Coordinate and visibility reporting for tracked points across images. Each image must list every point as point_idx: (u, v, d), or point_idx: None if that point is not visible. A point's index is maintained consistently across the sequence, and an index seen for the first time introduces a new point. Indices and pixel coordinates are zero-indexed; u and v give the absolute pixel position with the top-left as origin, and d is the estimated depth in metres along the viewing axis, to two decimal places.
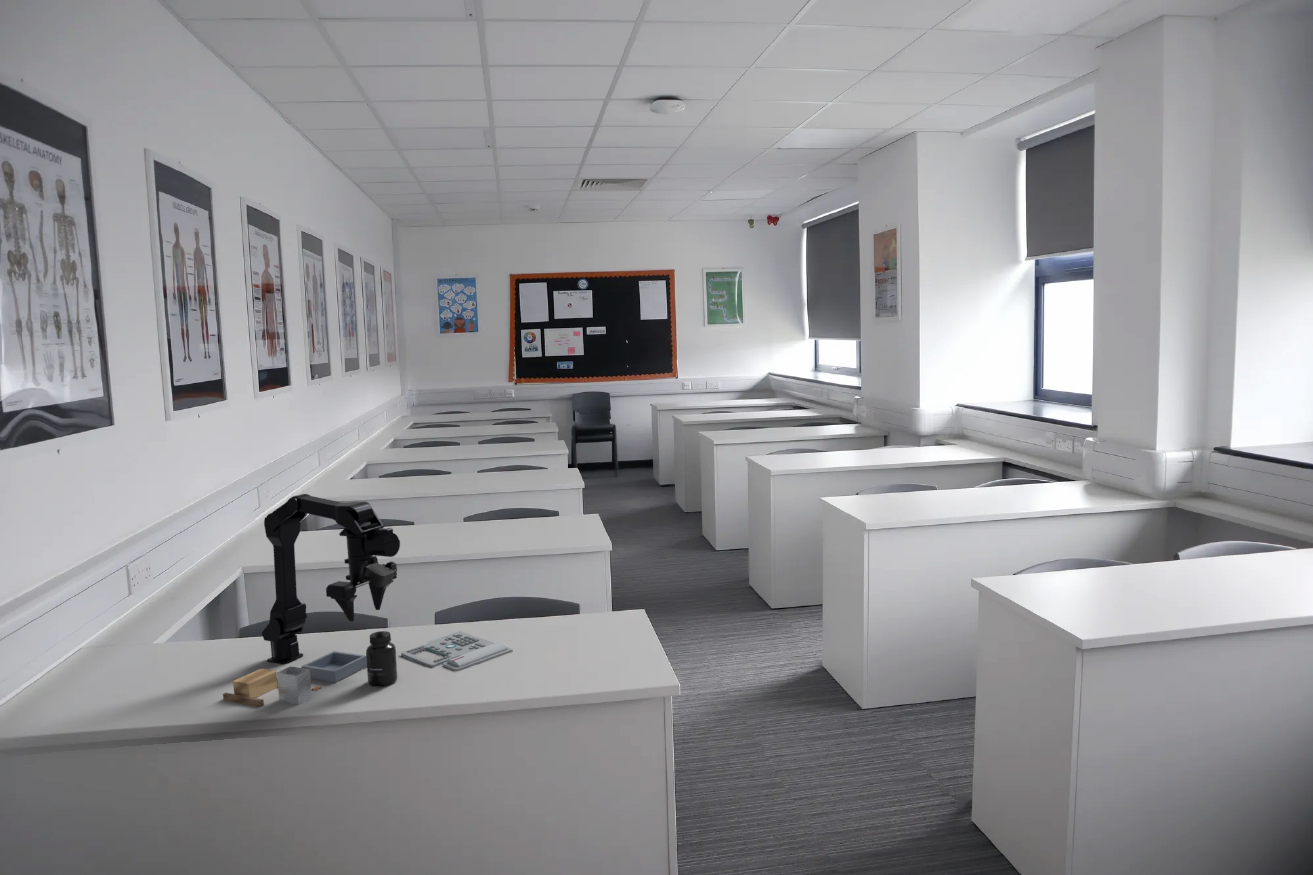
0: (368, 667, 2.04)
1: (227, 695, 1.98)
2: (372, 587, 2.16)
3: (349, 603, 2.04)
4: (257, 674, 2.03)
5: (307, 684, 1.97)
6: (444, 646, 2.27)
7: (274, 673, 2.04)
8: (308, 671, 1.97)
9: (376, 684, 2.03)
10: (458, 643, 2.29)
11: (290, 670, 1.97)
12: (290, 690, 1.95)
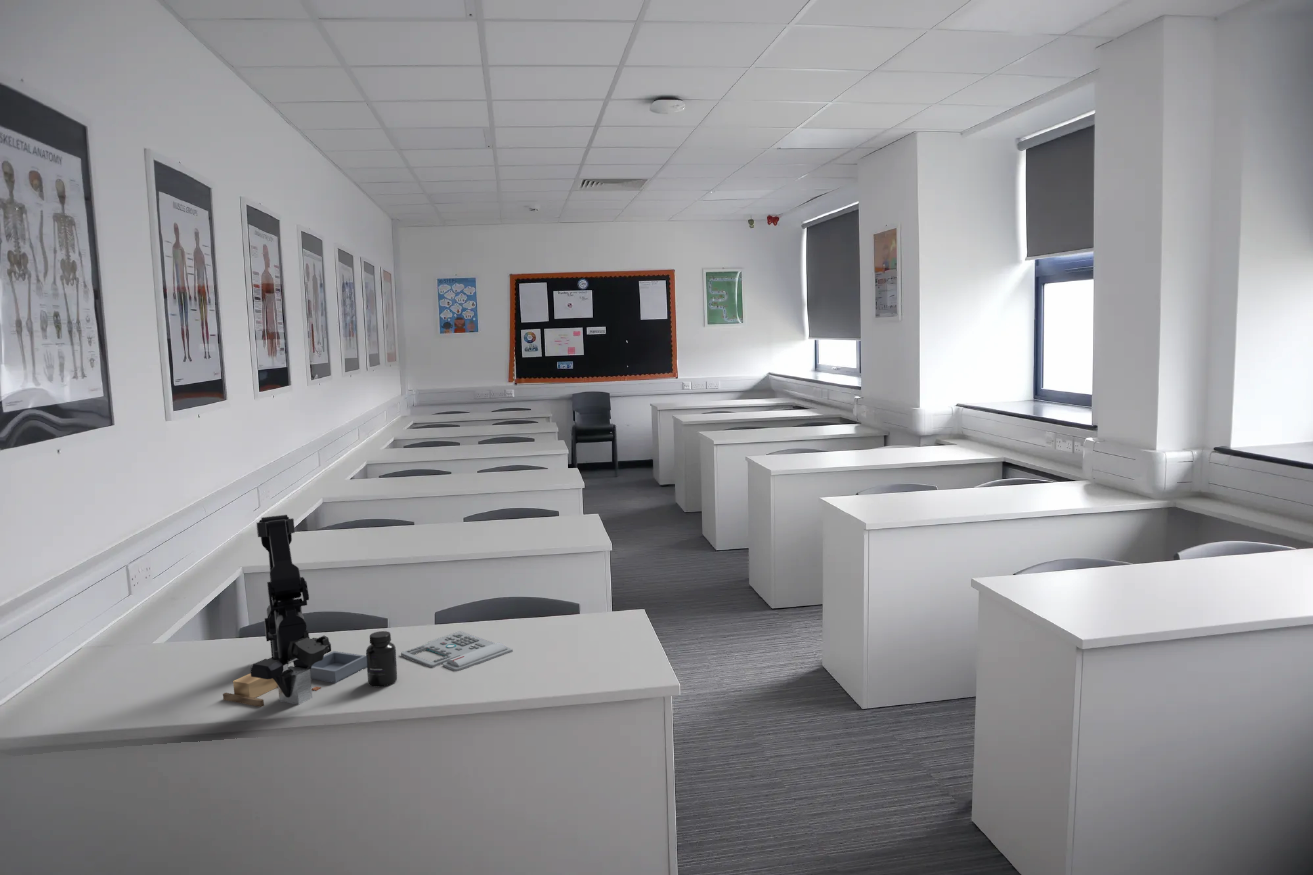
0: (368, 667, 2.04)
1: (227, 695, 1.98)
2: (297, 665, 2.00)
3: (284, 679, 1.93)
4: None
5: (307, 684, 1.97)
6: (444, 646, 2.27)
7: None
8: (308, 671, 1.97)
9: (376, 684, 2.03)
10: (458, 643, 2.29)
11: (290, 669, 1.97)
12: None
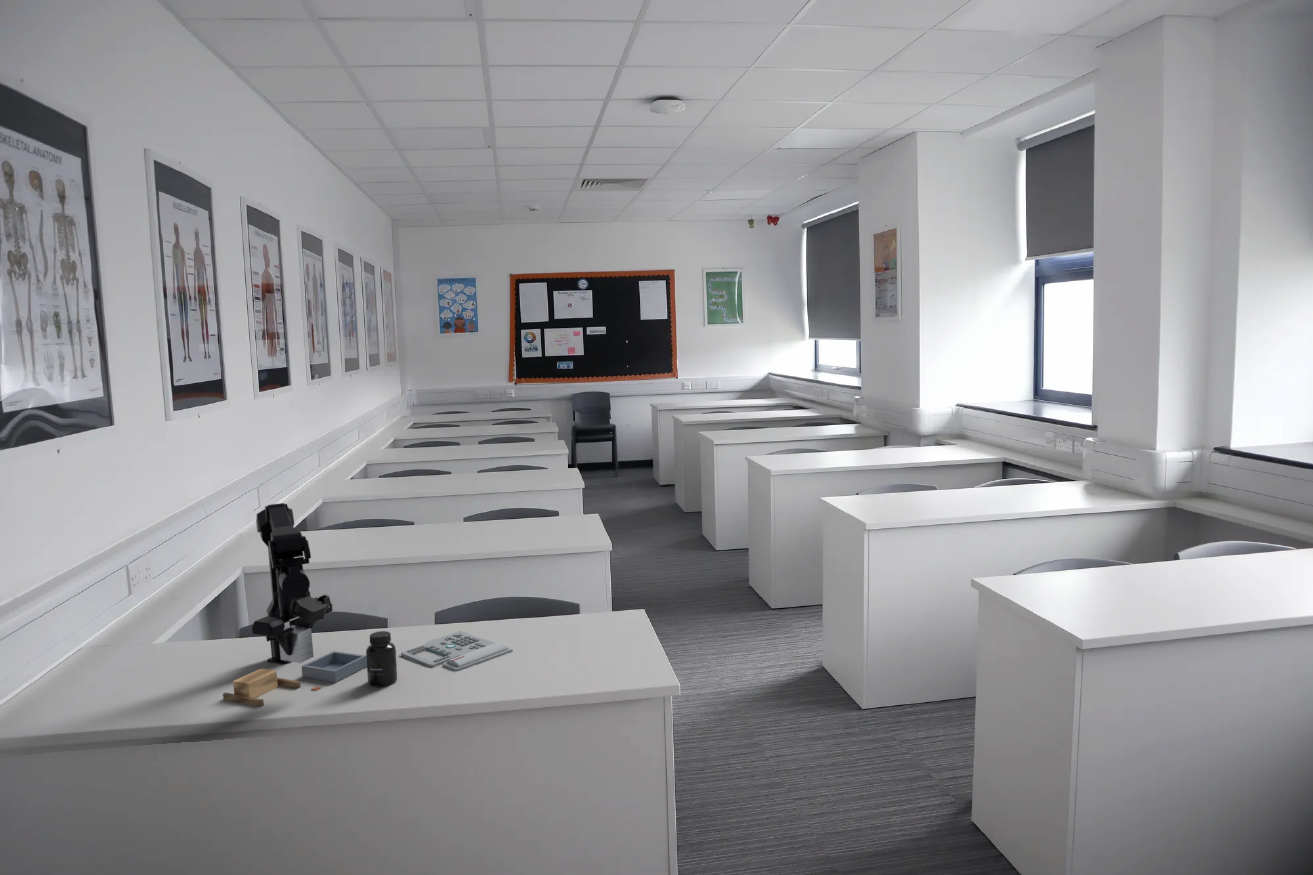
0: (368, 667, 2.04)
1: (227, 695, 1.98)
2: (298, 624, 2.01)
3: (286, 637, 1.94)
4: (257, 674, 2.03)
5: (308, 642, 1.98)
6: (444, 646, 2.27)
7: (274, 673, 2.04)
8: (309, 629, 1.98)
9: (376, 684, 2.03)
10: (458, 643, 2.29)
11: None
12: None
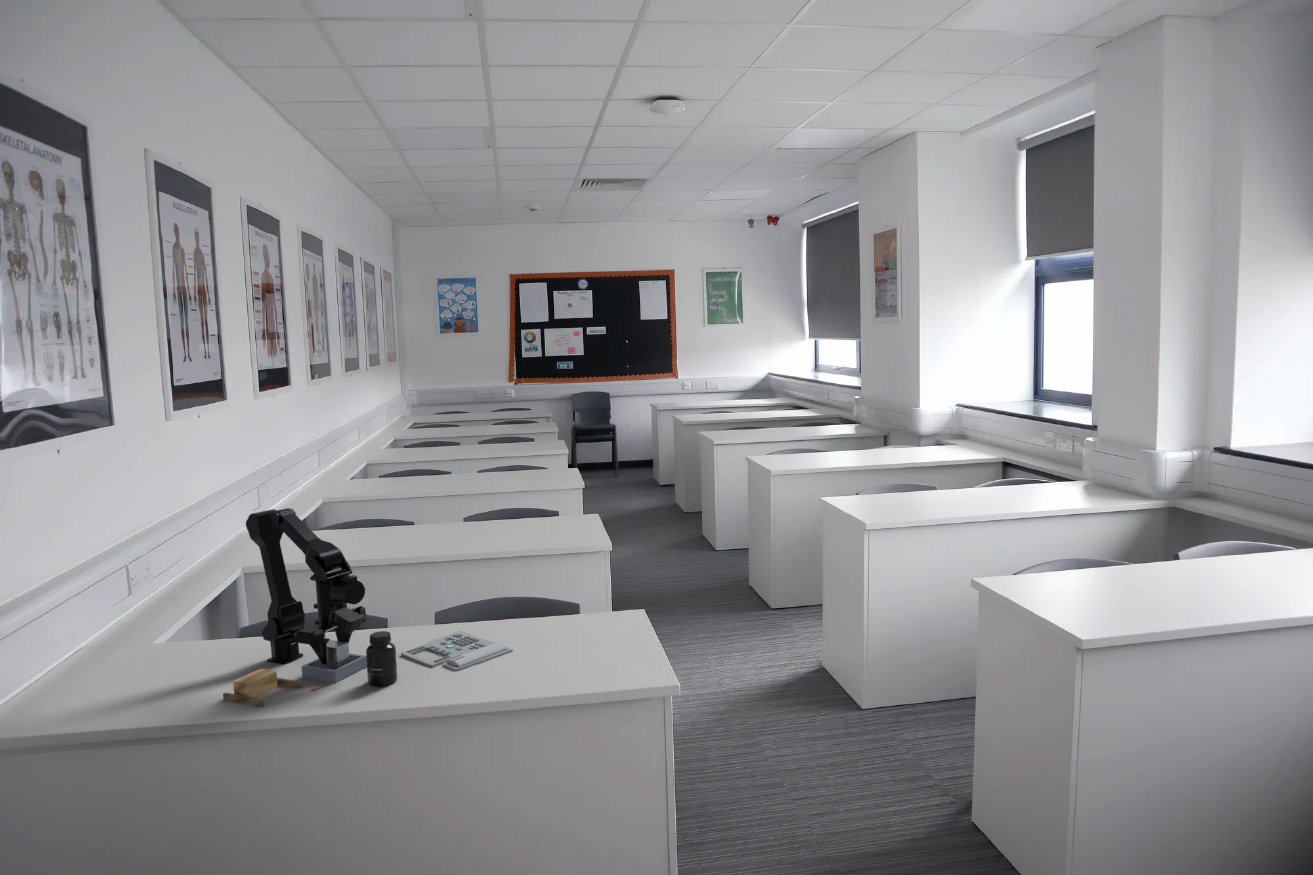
0: (368, 667, 2.04)
1: (227, 695, 1.98)
2: (338, 632, 2.17)
3: (322, 646, 2.08)
4: (257, 674, 2.03)
5: (345, 656, 2.13)
6: (444, 646, 2.27)
7: (274, 673, 2.04)
8: (347, 644, 2.13)
9: (376, 684, 2.03)
10: (458, 643, 2.29)
11: (330, 643, 2.13)
12: (330, 661, 2.11)
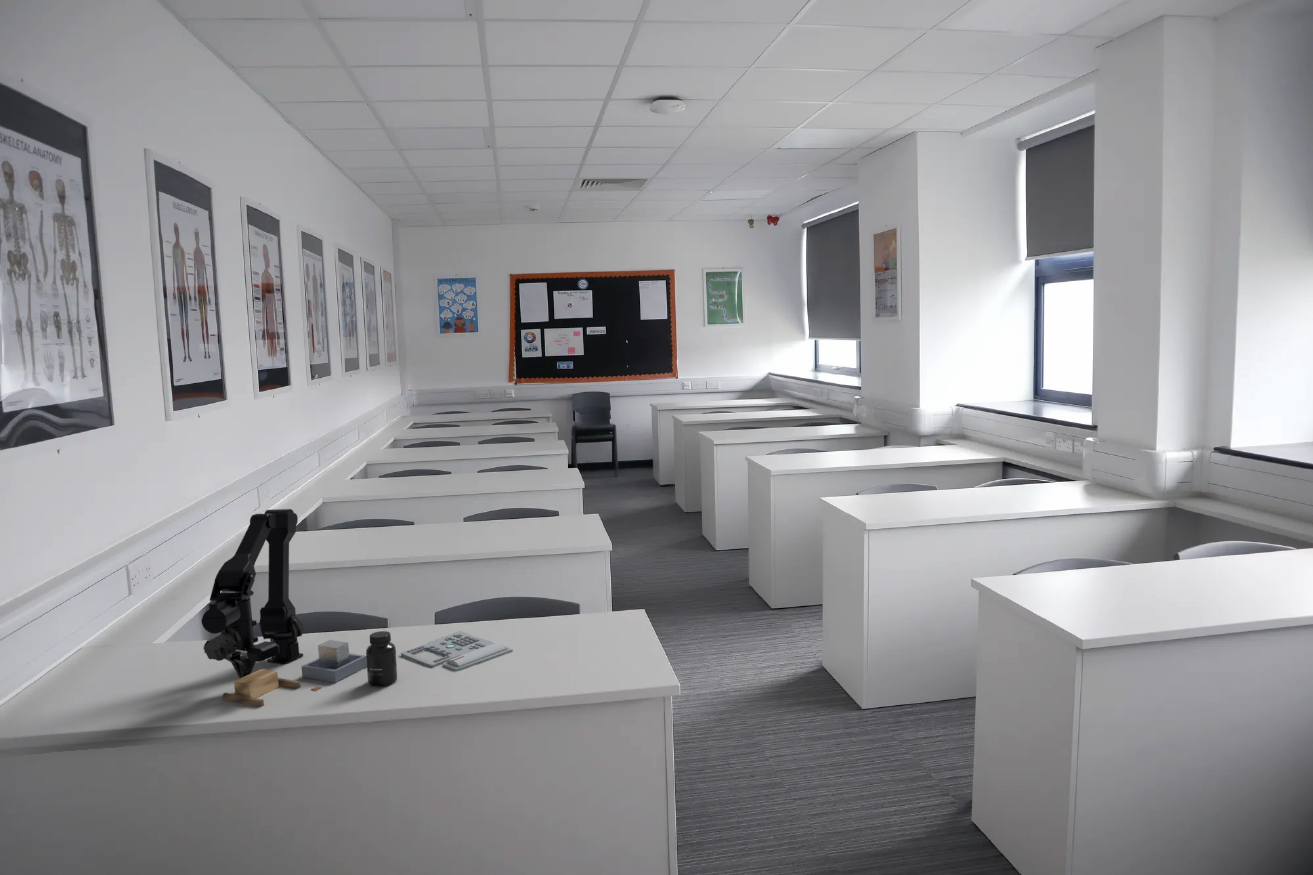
0: (368, 667, 2.04)
1: (227, 695, 1.98)
2: None
3: (232, 663, 2.03)
4: (258, 674, 2.03)
5: (345, 656, 2.13)
6: (444, 646, 2.27)
7: (275, 673, 2.04)
8: (347, 644, 2.13)
9: (376, 684, 2.03)
10: (458, 643, 2.29)
11: (330, 643, 2.13)
12: (330, 661, 2.11)
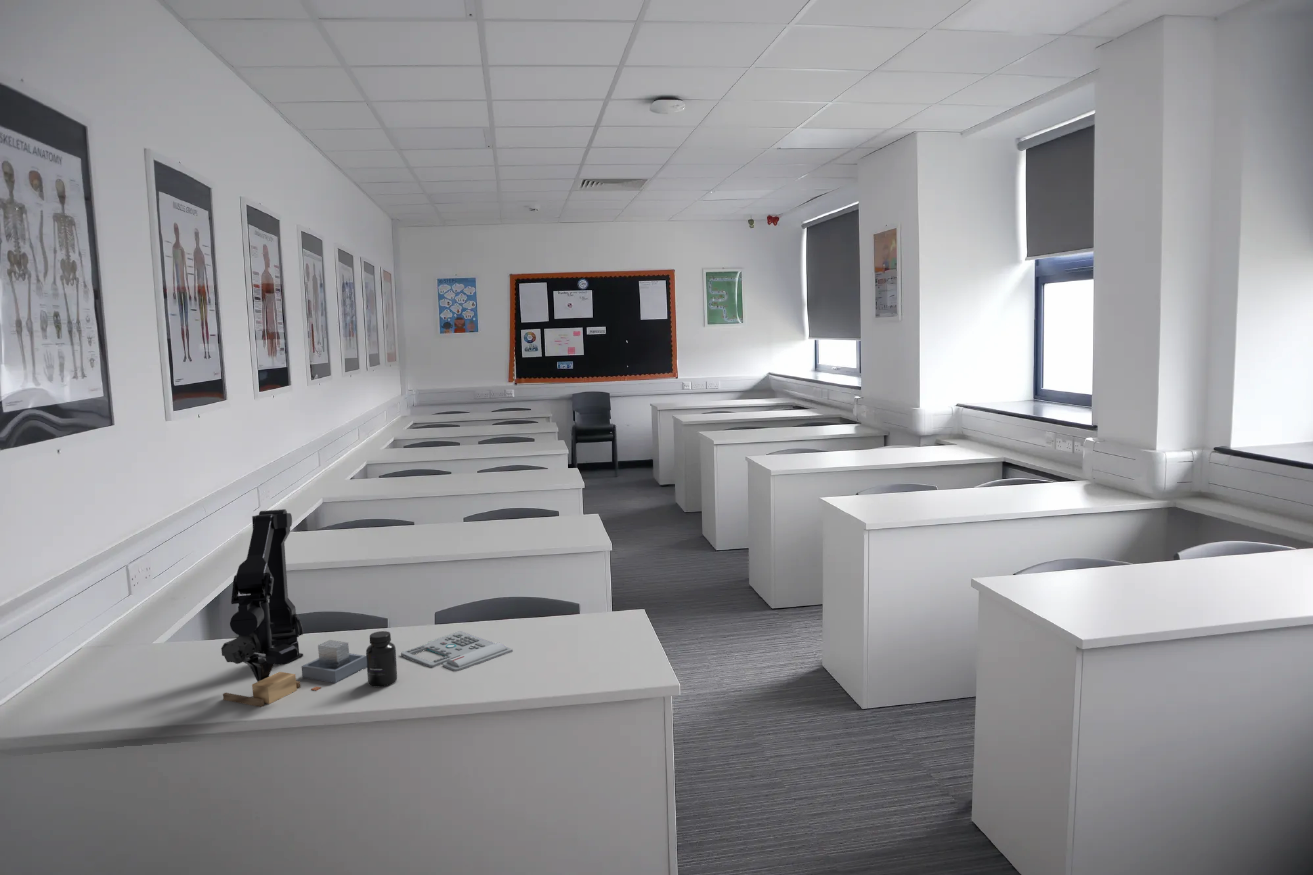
0: (368, 667, 2.04)
1: (227, 695, 1.98)
2: None
3: None
4: (276, 677, 2.01)
5: (345, 656, 2.13)
6: (444, 646, 2.27)
7: (293, 676, 2.02)
8: (347, 644, 2.13)
9: (376, 684, 2.03)
10: (458, 643, 2.29)
11: (330, 643, 2.13)
12: (330, 661, 2.11)
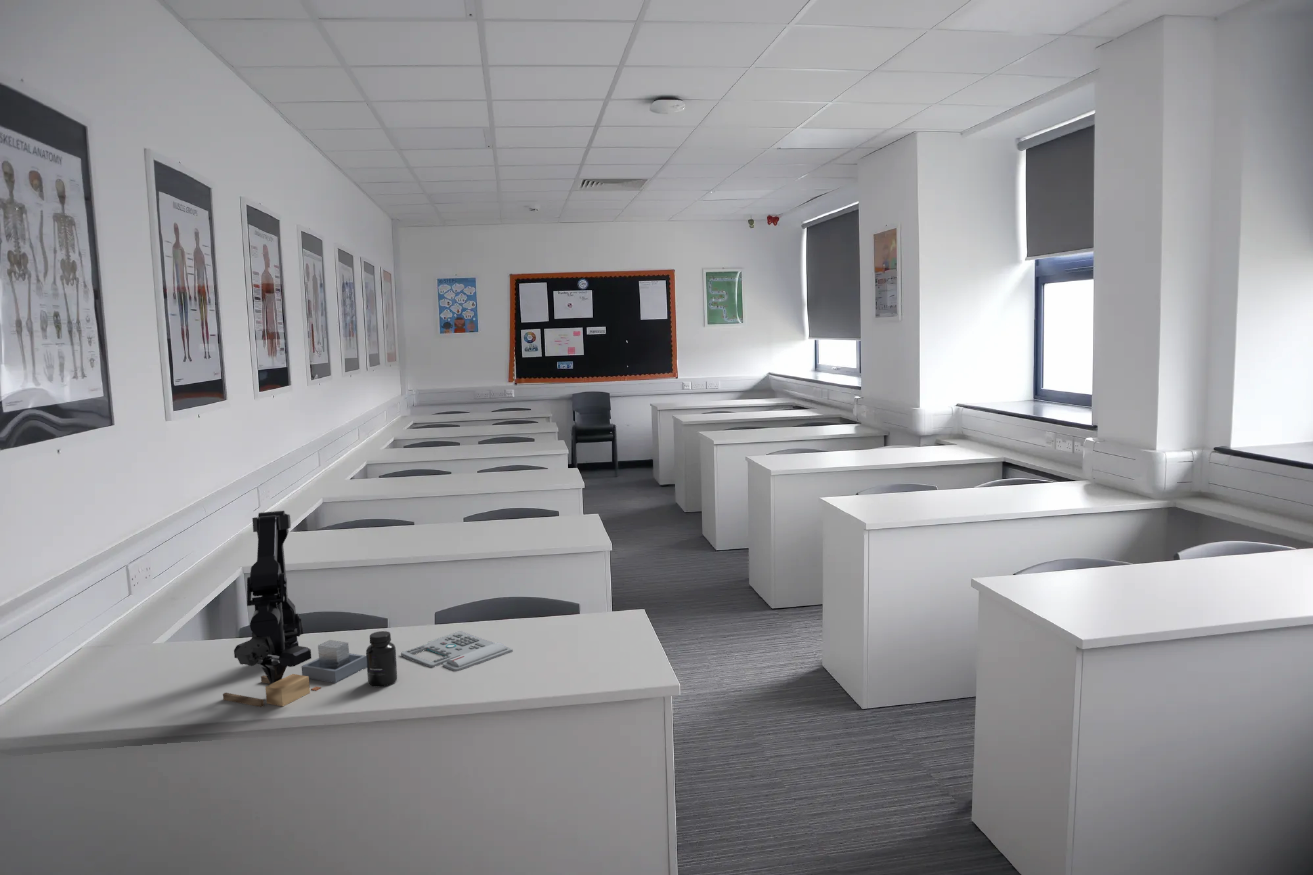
0: (368, 667, 2.04)
1: (227, 695, 1.98)
2: None
3: (262, 668, 1.99)
4: (289, 679, 1.99)
5: (345, 656, 2.13)
6: (444, 646, 2.27)
7: (306, 678, 2.00)
8: (347, 644, 2.13)
9: (376, 684, 2.03)
10: (458, 643, 2.29)
11: (330, 643, 2.13)
12: (330, 661, 2.11)
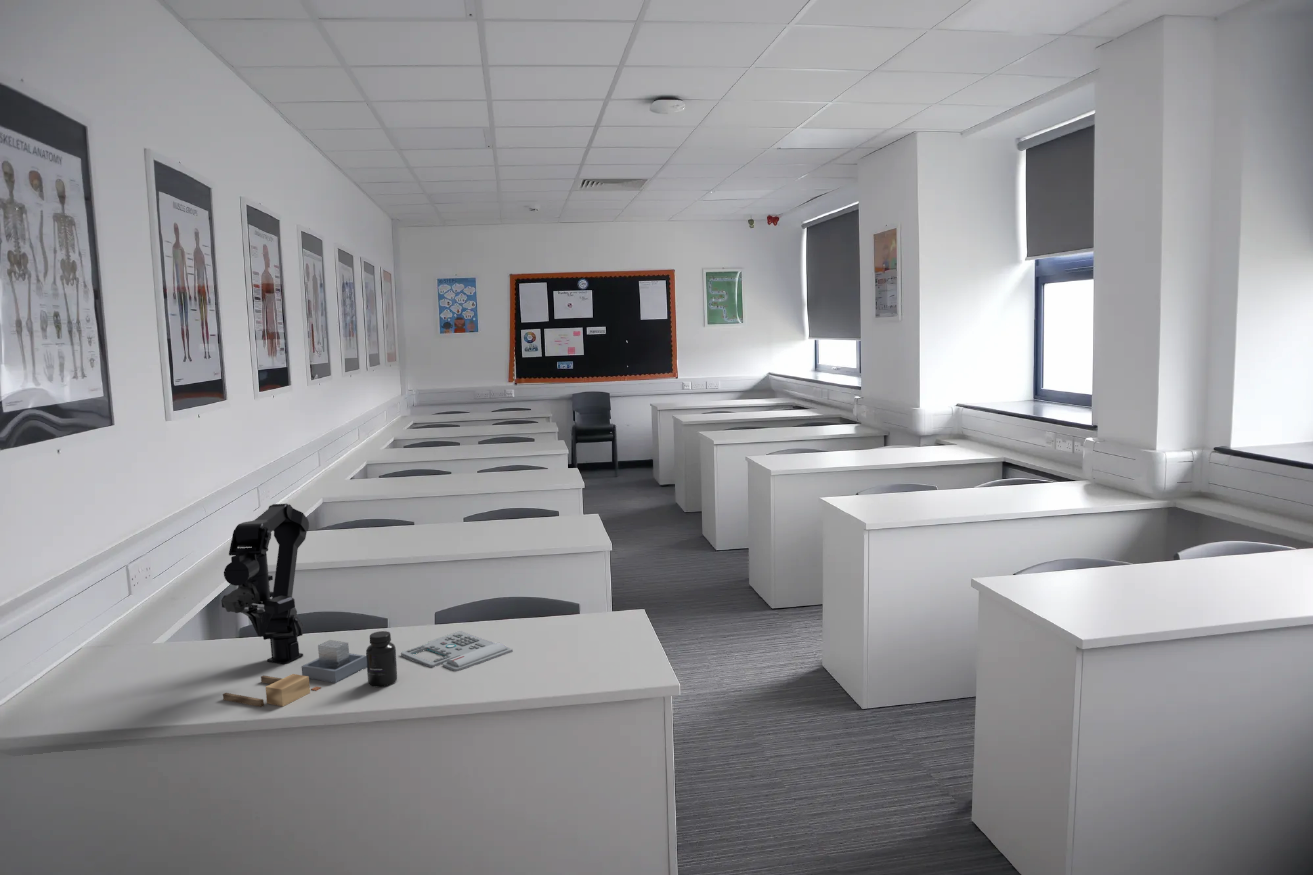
0: (368, 667, 2.04)
1: (227, 695, 1.98)
2: None
3: (248, 616, 2.09)
4: (289, 679, 1.99)
5: (345, 656, 2.13)
6: (444, 646, 2.27)
7: (307, 678, 2.00)
8: (347, 644, 2.13)
9: (376, 684, 2.03)
10: (458, 643, 2.29)
11: (330, 643, 2.13)
12: (330, 661, 2.11)
